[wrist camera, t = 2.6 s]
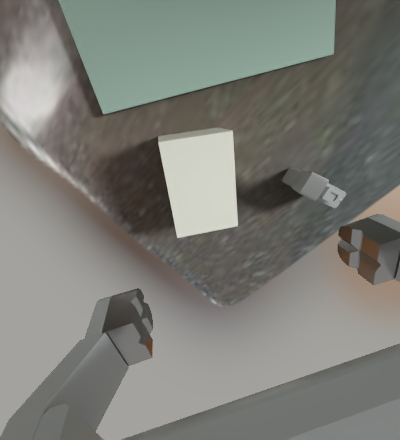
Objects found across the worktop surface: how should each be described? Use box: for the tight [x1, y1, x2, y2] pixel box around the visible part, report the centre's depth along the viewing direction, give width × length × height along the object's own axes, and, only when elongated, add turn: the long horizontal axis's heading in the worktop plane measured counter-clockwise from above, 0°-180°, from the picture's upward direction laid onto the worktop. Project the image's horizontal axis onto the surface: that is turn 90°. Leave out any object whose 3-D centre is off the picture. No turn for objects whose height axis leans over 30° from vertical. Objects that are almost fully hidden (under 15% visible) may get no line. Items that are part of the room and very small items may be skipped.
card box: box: [158, 128, 238, 238], centre depth 20 cm, size 6×8×5 cm
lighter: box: [282, 167, 346, 208], centre depth 20 cm, size 7×2×8 cm, turn 66°
